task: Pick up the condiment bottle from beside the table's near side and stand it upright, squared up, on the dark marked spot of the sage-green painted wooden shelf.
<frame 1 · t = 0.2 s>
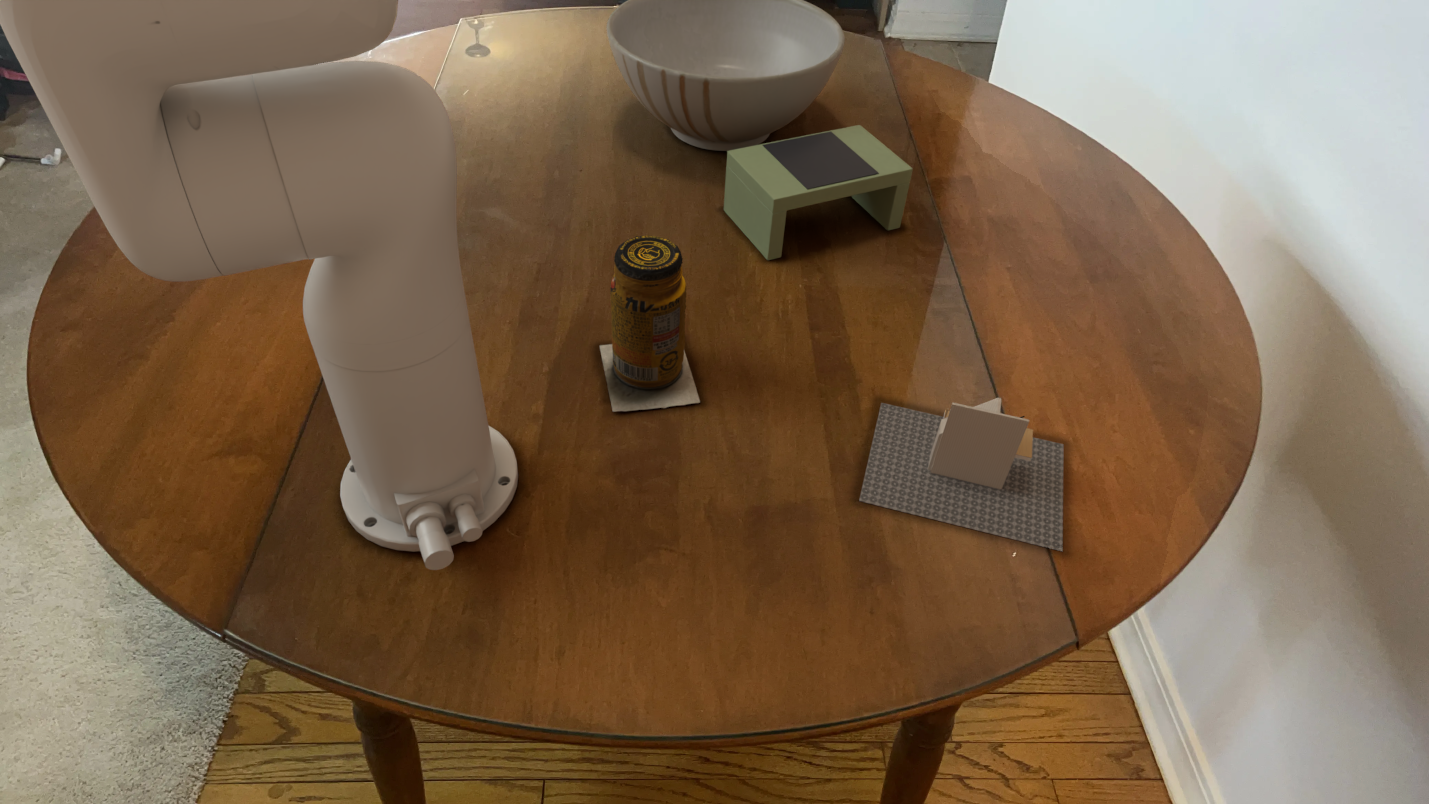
condiment: (648, 376, 77), on the table
decorative bowl: (720, 128, 110), on the table
architectural model: (964, 473, 71), on the table
shelf: (811, 219, 96), on the table
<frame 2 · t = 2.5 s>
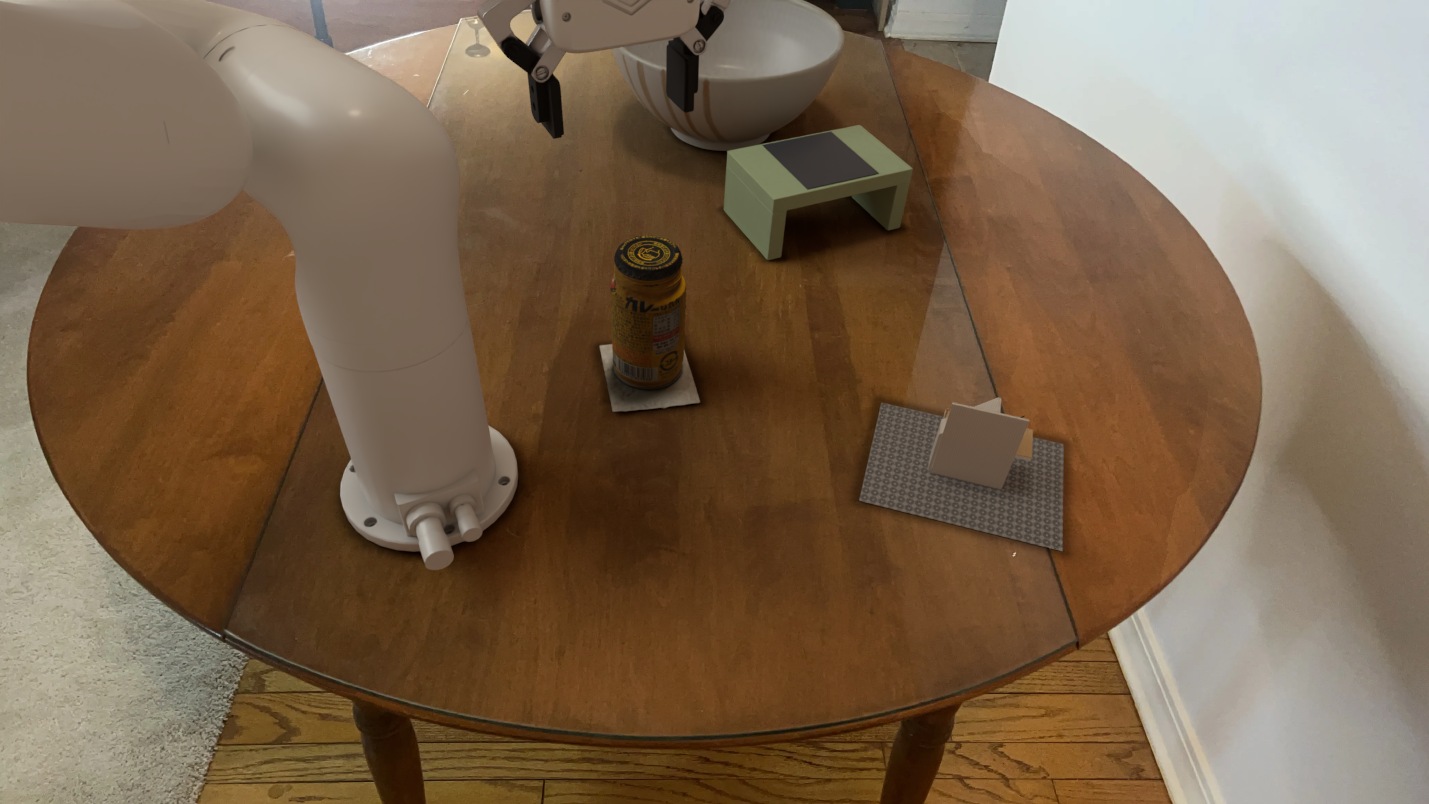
hand: (617, 116, 63), 23 cm above the table, tool pointing down, fingers open, 9 cm apart
nothing on the table moved.
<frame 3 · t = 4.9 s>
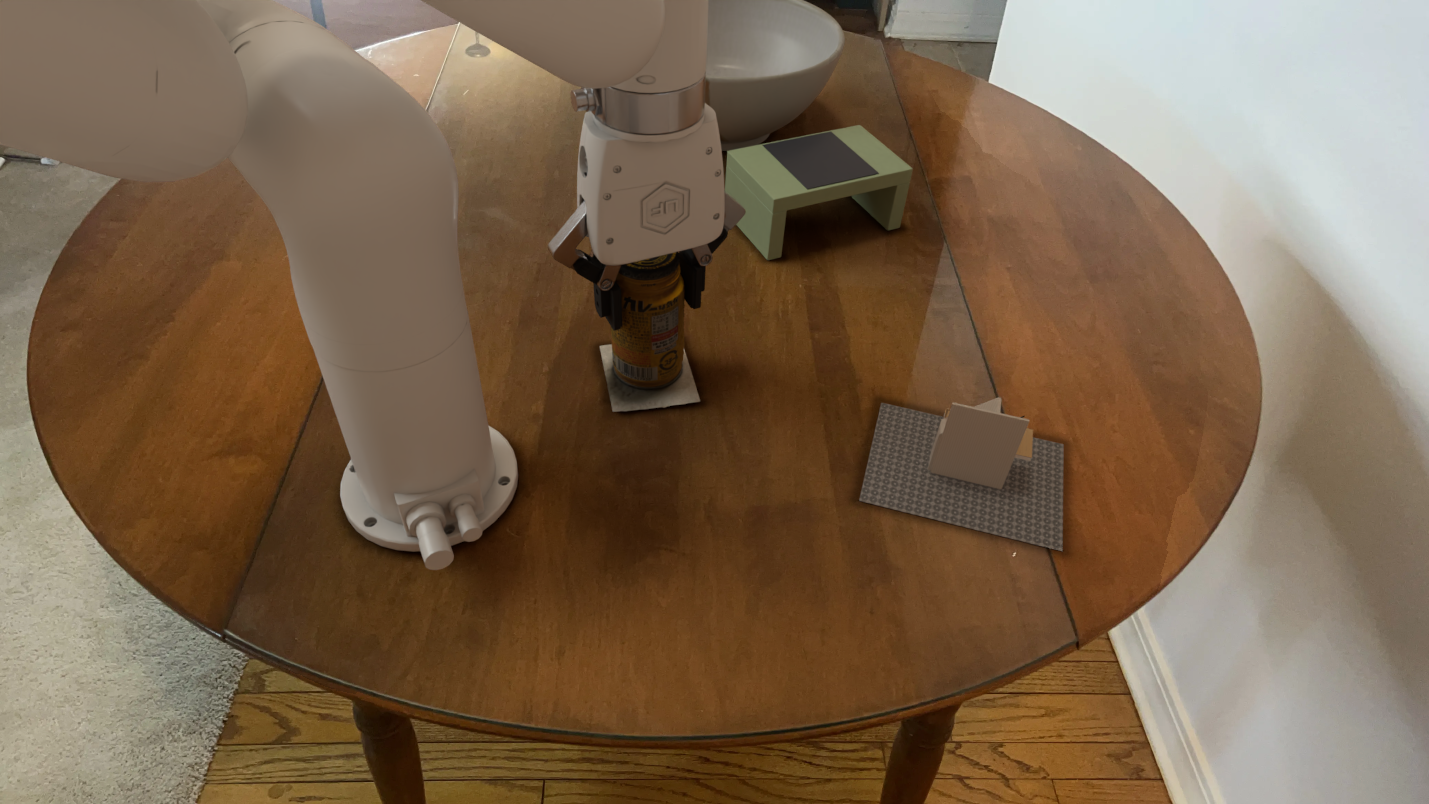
hand: (650, 307, 72), 7 cm above the table, tool pointing down, fingers closed on condiment, 6 cm apart
condiment: (648, 376, 77), on the table, touching gripper
everything else where it was.
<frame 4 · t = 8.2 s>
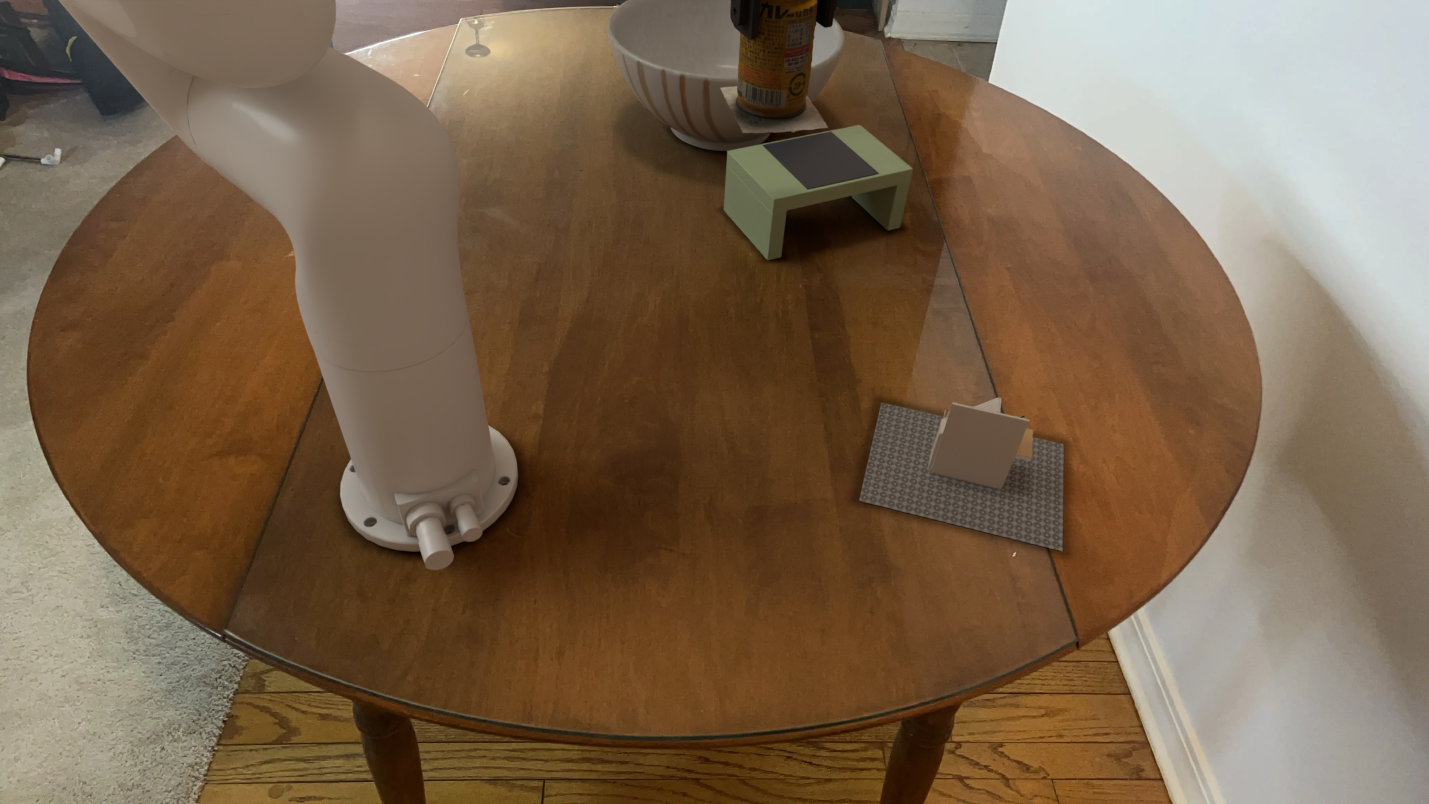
hand: (782, 25, 72), 24 cm above the table, tool pointing down, fingers closed on condiment, 6 cm apart
condiment: (772, 111, 77), point 17 cm above the table, touching gripper
everything else where it was.
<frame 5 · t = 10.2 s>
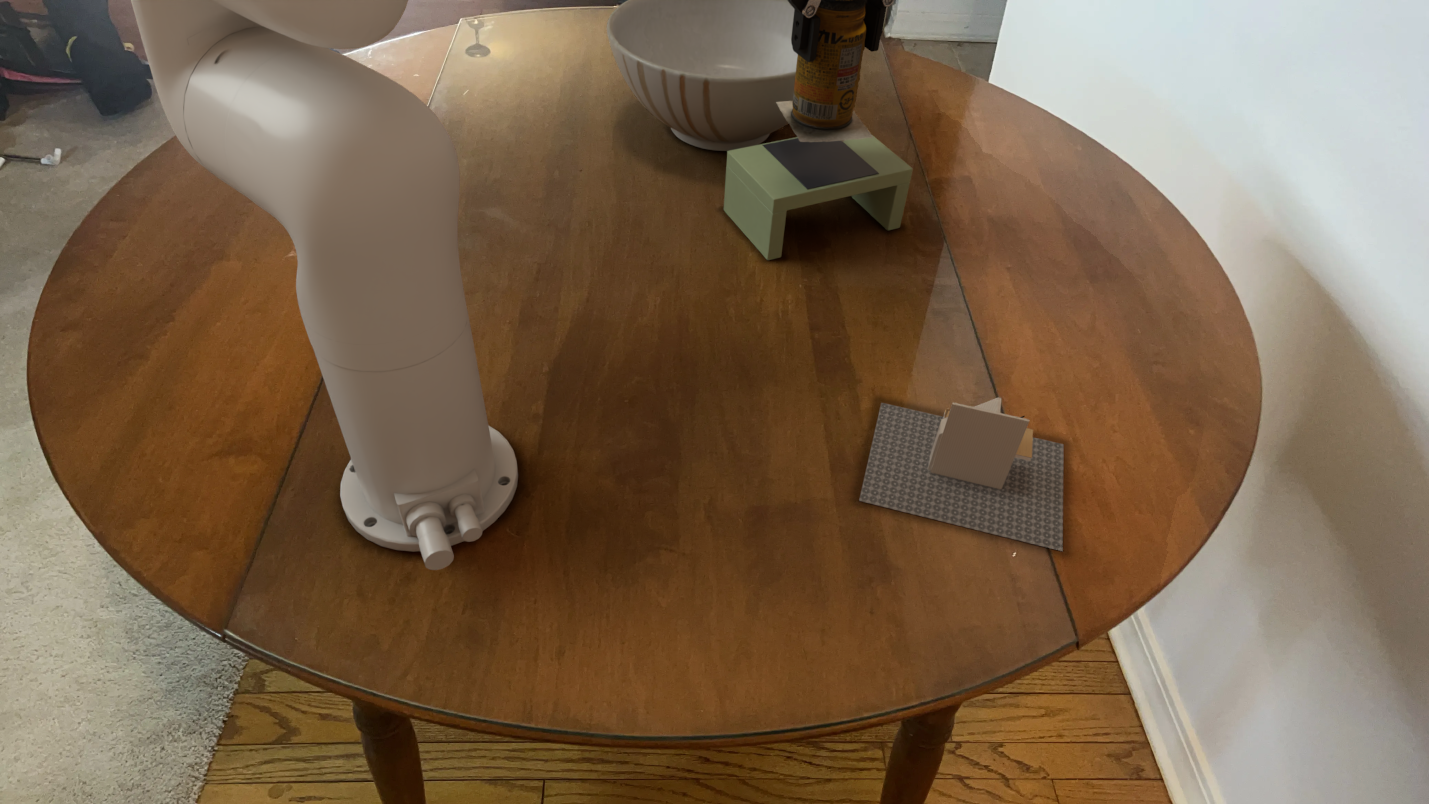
hand: (835, 49, 83), 18 cm above the table, tool pointing down, fingers closed on condiment, 6 cm apart
condiment: (822, 123, 88), point 11 cm above the table, touching gripper
everything else where it was.
when the fingers open (14 cm above the table, at t = 11.6 s): condiment stays where it is, resting on shelf.
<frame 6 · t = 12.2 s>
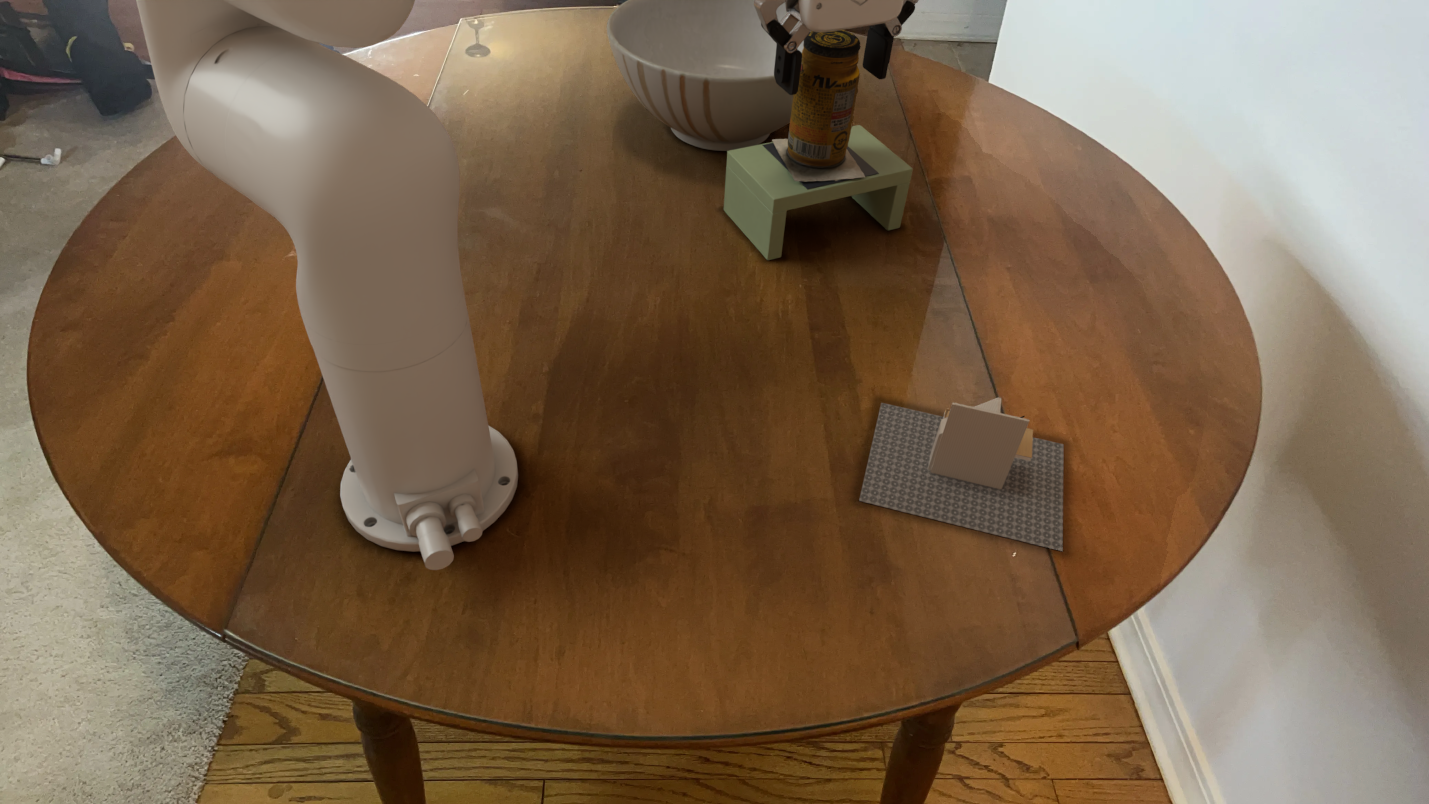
hand: (830, 81, 85), 15 cm above the table, tool pointing down, fingers open, 9 cm apart
condiment: (817, 161, 91), point 7 cm above the table, touching shelf
everything else where it was.
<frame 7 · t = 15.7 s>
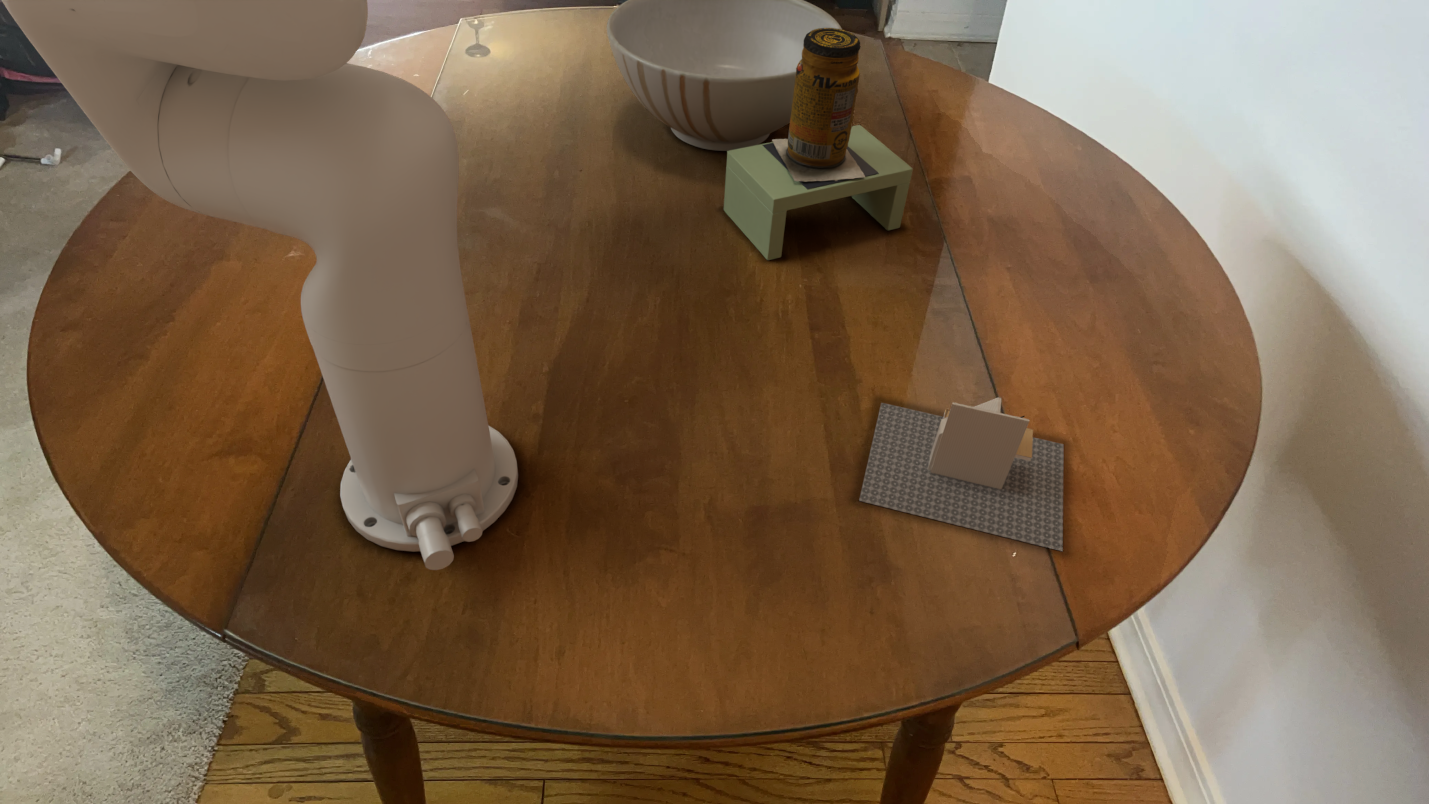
nothing on the table moved.
at the end: condiment 0.4 cm off-centre on the shelf, point 6.9 cm above the shelf's base; condiment tilted 0°; the gripper is holding nothing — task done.
